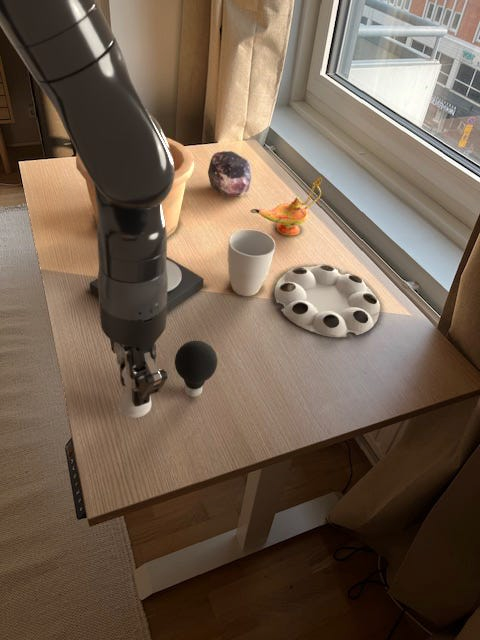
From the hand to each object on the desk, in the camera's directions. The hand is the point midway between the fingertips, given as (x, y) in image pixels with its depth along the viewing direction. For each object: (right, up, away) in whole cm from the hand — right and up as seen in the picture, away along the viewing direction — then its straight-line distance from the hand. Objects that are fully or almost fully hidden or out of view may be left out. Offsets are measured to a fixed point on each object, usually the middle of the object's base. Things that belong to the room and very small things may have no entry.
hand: (135, 392), depth 69 cm
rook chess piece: (0, -2, +2) cm, 3 cm away
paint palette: (+30, +13, +26) cm, 42 cm away
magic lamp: (+23, +29, +42) cm, 56 cm away
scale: (-2, +15, +23) cm, 27 cm away
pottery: (-7, +30, +38) cm, 49 cm away
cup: (+15, +16, +26) cm, 34 cm away
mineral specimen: (+11, +39, +51) cm, 66 cm away
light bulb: (+7, -1, +7) cm, 10 cm away
